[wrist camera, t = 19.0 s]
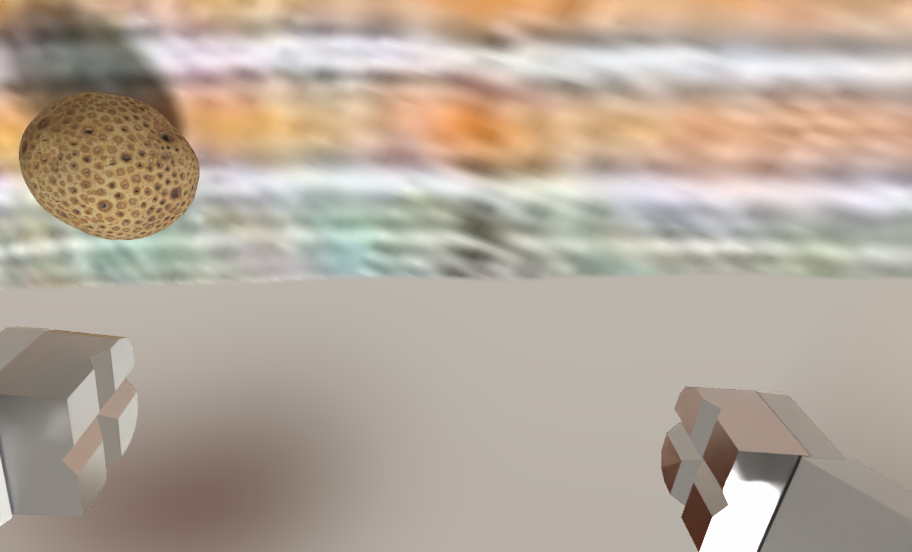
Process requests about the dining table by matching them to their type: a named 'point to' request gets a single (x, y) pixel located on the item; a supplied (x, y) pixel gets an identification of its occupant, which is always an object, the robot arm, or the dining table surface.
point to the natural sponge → (108, 165)
